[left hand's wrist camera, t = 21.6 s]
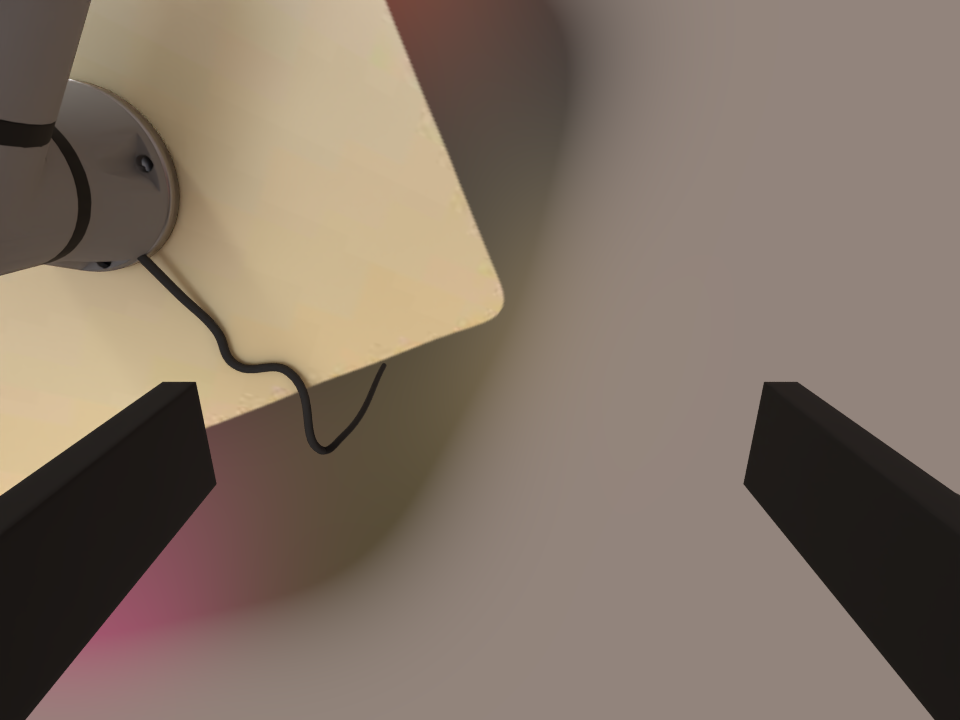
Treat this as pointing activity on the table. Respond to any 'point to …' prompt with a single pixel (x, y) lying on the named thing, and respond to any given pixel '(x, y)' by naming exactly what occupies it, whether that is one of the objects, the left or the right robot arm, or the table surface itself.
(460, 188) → the table surface
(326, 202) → the table surface
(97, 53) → the table surface
